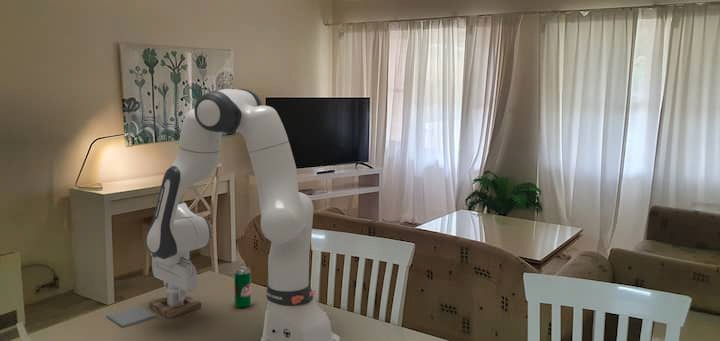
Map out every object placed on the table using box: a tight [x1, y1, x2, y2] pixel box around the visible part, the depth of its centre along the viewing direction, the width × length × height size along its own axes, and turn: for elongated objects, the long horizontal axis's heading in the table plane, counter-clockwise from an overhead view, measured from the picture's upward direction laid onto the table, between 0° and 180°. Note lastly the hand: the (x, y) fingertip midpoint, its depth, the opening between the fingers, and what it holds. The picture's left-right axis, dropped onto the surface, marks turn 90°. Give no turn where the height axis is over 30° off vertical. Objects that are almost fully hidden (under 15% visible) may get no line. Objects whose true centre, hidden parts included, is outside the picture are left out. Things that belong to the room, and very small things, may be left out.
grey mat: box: [106, 305, 157, 328], centre depth 160 cm, size 10×10×1 cm
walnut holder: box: [149, 294, 202, 319], centre depth 167 cm, size 11×11×2 cm
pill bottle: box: [166, 283, 184, 308], centre depth 167 cm, size 5×5×8 cm
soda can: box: [233, 266, 252, 309], centre depth 170 cm, size 5×5×12 cm
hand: (175, 297), depth 167 cm, fingers closed on pill bottle, 5 cm apart
